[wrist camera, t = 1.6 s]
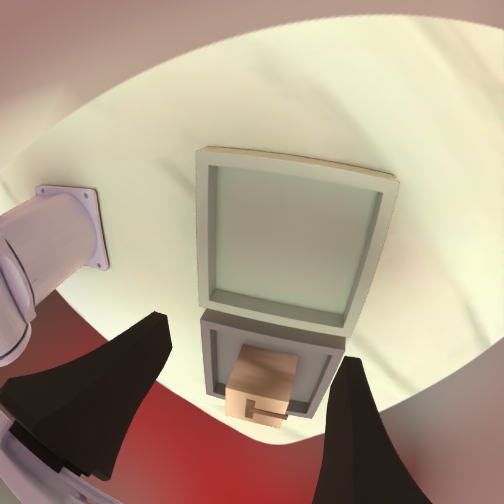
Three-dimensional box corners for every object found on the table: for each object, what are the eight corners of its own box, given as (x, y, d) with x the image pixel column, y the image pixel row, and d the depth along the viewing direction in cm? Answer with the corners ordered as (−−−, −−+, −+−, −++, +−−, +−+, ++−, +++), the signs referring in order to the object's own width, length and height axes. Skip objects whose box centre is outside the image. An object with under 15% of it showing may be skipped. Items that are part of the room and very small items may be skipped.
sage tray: (207, 292, 23) (199, 306, 22) (208, 146, 17) (196, 151, 16) (350, 321, 21) (350, 337, 19) (392, 174, 15) (399, 182, 14)
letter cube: (240, 375, 27) (225, 416, 23) (243, 343, 25) (225, 388, 20) (292, 386, 26) (282, 429, 22) (301, 356, 24) (292, 404, 19)
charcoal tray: (212, 382, 30) (206, 394, 28) (208, 305, 24) (200, 319, 22) (314, 405, 28) (311, 418, 26) (345, 334, 22) (345, 350, 20)
